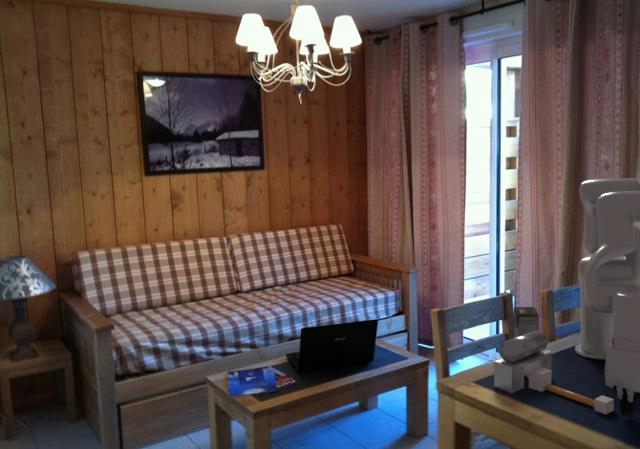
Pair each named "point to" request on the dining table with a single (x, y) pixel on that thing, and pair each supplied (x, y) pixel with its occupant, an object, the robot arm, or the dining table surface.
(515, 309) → the coffee box
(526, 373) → the cylinder
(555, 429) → the dining table surface
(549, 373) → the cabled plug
